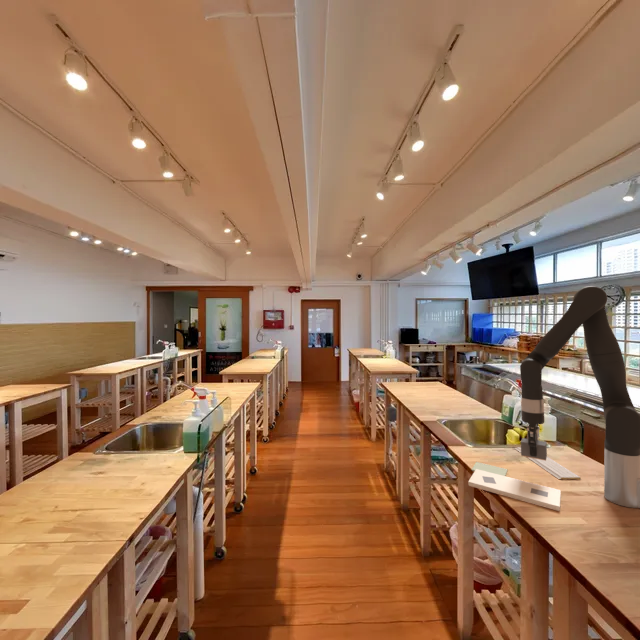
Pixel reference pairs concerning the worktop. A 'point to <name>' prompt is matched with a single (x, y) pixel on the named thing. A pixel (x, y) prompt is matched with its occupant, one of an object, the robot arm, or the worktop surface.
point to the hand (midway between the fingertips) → (533, 453)
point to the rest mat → (489, 468)
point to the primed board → (516, 489)
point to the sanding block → (540, 449)
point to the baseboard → (553, 468)
